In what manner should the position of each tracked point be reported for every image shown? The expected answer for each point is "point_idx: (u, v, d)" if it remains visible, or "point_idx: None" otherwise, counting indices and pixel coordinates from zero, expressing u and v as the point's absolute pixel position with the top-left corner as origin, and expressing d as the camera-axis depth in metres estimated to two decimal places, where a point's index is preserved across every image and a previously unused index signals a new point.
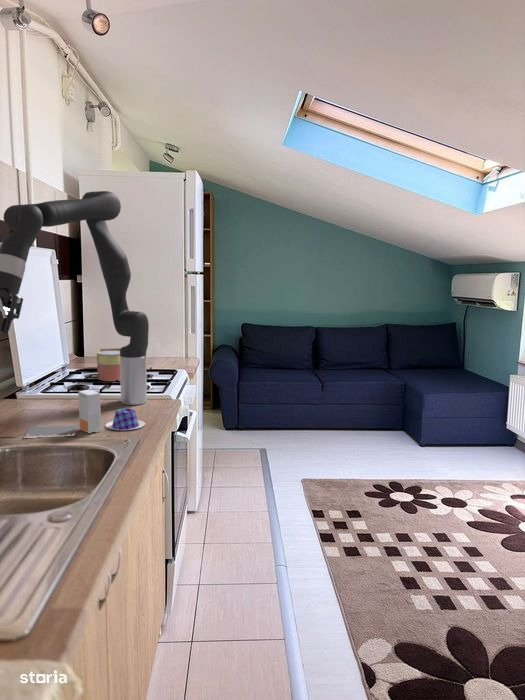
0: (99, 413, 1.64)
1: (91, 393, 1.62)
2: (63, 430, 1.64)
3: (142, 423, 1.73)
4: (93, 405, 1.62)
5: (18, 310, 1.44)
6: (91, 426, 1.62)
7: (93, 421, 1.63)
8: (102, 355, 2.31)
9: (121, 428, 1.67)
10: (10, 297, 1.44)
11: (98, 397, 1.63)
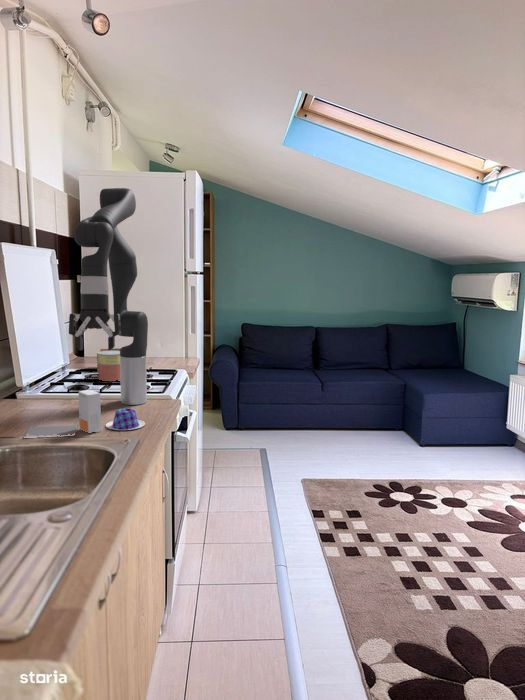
0: (99, 413, 1.64)
1: (91, 393, 1.62)
2: (63, 430, 1.64)
3: (142, 423, 1.73)
4: (93, 405, 1.62)
5: (119, 326, 1.57)
6: (91, 426, 1.62)
7: (93, 421, 1.63)
8: (102, 355, 2.31)
9: (121, 428, 1.67)
10: (109, 316, 1.55)
11: (98, 397, 1.63)
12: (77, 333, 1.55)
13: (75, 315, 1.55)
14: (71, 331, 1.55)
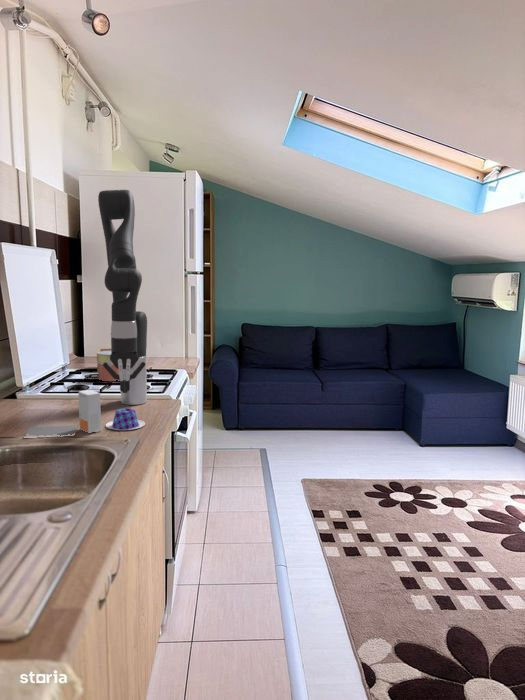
0: (99, 413, 1.64)
1: (91, 393, 1.62)
2: (63, 430, 1.64)
3: (142, 423, 1.73)
4: (93, 405, 1.62)
5: None
6: (91, 426, 1.62)
7: (93, 421, 1.63)
8: (102, 355, 2.31)
9: (121, 428, 1.67)
10: (137, 360, 1.65)
11: (98, 397, 1.63)
12: (122, 377, 1.64)
13: (107, 362, 1.63)
14: (116, 376, 1.63)
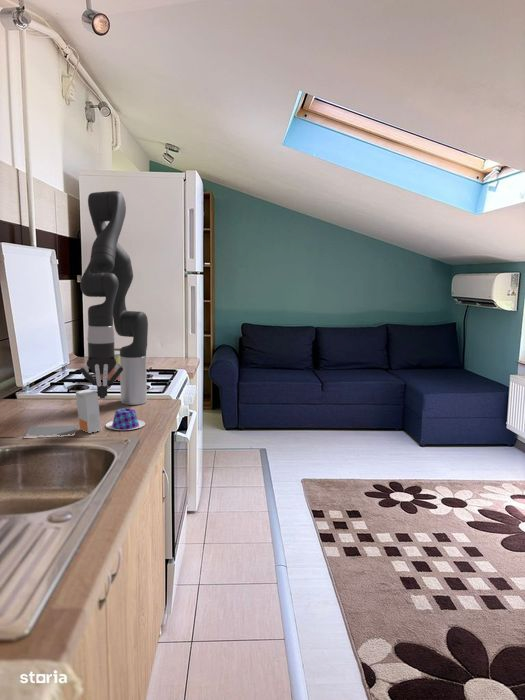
0: (98, 412, 1.63)
1: (88, 393, 1.62)
2: (63, 430, 1.64)
3: (142, 423, 1.74)
4: (91, 405, 1.61)
5: None
6: (91, 425, 1.62)
7: (93, 421, 1.62)
8: None
9: (122, 428, 1.67)
10: (115, 365, 1.63)
11: (96, 397, 1.62)
12: (99, 383, 1.62)
13: (84, 367, 1.62)
14: (93, 381, 1.62)
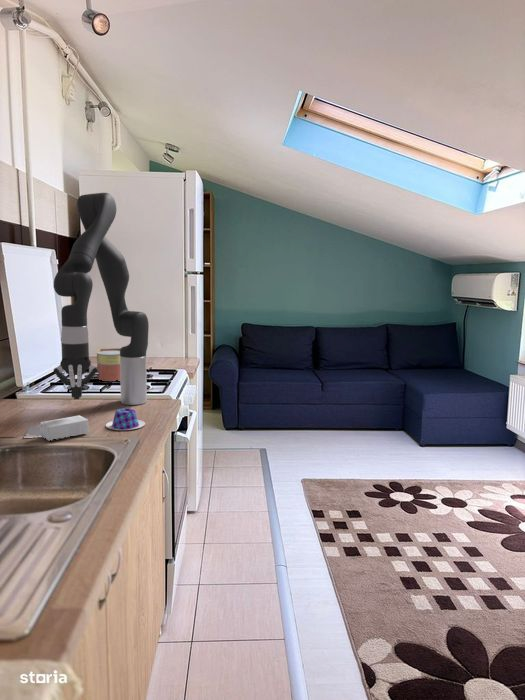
0: (69, 424, 1.57)
1: (46, 434, 1.54)
2: None
3: (142, 422, 1.74)
4: (60, 433, 1.56)
5: None
6: (81, 431, 1.60)
7: (76, 429, 1.59)
8: (102, 355, 2.31)
9: (122, 428, 1.67)
10: (89, 365, 1.62)
11: (52, 428, 1.54)
12: (73, 384, 1.61)
13: (57, 368, 1.60)
14: (67, 382, 1.60)
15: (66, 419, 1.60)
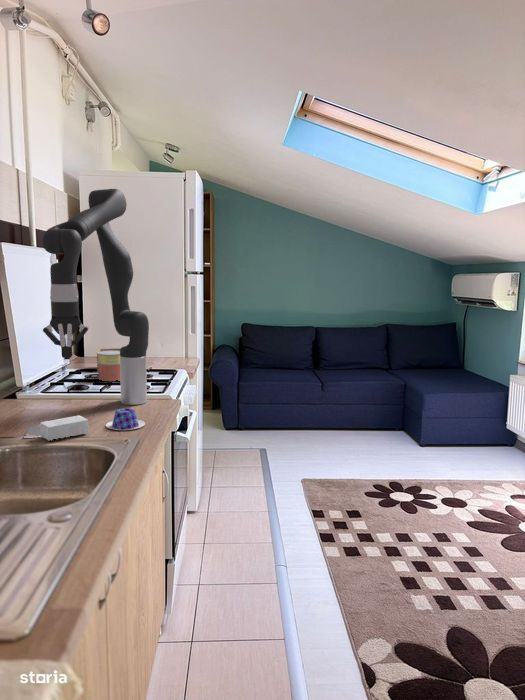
0: (69, 424, 1.57)
1: (46, 434, 1.54)
2: None
3: (141, 422, 1.74)
4: (60, 433, 1.56)
5: None
6: (81, 431, 1.60)
7: (76, 429, 1.59)
8: (102, 355, 2.31)
9: (123, 428, 1.67)
10: (79, 325, 1.59)
11: (52, 428, 1.54)
12: (63, 343, 1.58)
13: (47, 327, 1.57)
14: (57, 341, 1.58)
15: (66, 419, 1.60)
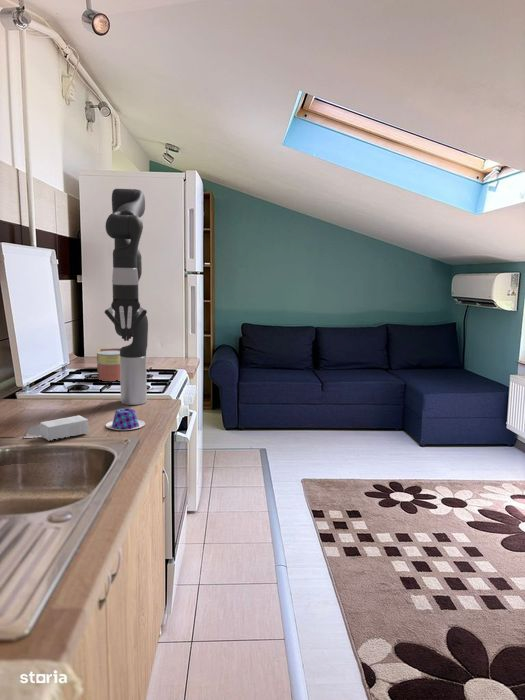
0: (69, 424, 1.57)
1: (46, 434, 1.54)
2: None
3: (141, 422, 1.74)
4: (60, 433, 1.56)
5: None
6: (81, 431, 1.60)
7: (76, 429, 1.59)
8: (102, 355, 2.31)
9: (124, 428, 1.68)
10: (139, 307, 1.65)
11: (52, 428, 1.54)
12: (123, 325, 1.65)
13: (108, 309, 1.64)
14: (117, 323, 1.64)
15: (66, 419, 1.60)
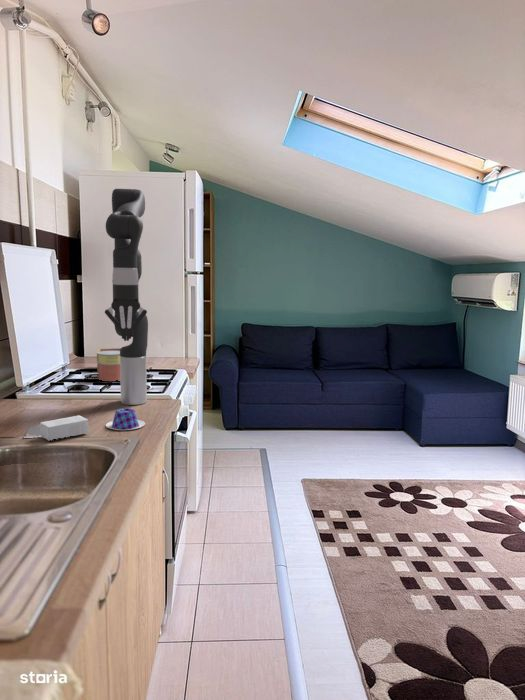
0: (69, 424, 1.57)
1: (46, 434, 1.54)
2: None
3: (141, 422, 1.74)
4: (60, 433, 1.56)
5: None
6: (81, 431, 1.60)
7: (76, 429, 1.59)
8: (102, 355, 2.31)
9: (124, 428, 1.68)
10: (139, 307, 1.65)
11: (52, 428, 1.54)
12: (123, 325, 1.65)
13: (108, 309, 1.64)
14: (117, 323, 1.64)
15: (66, 419, 1.60)
